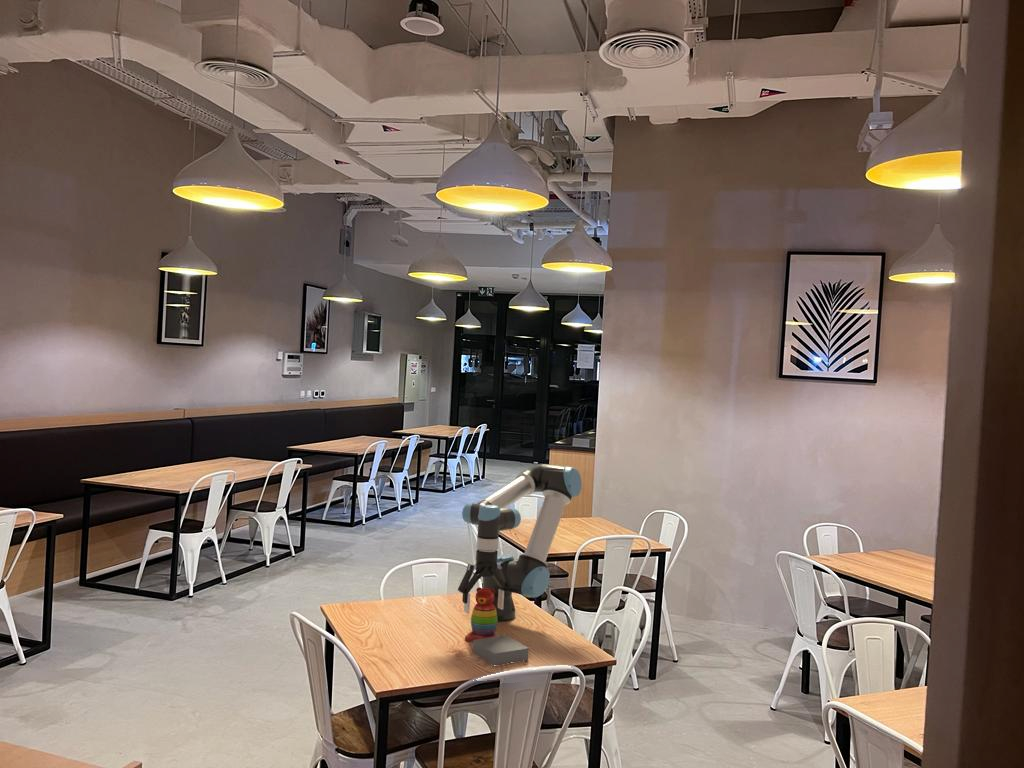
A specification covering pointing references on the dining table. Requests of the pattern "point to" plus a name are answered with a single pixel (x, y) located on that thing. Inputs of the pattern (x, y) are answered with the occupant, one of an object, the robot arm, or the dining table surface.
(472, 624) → the stacking bear
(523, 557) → the robot arm
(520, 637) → the dining table surface
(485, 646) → the grey block
